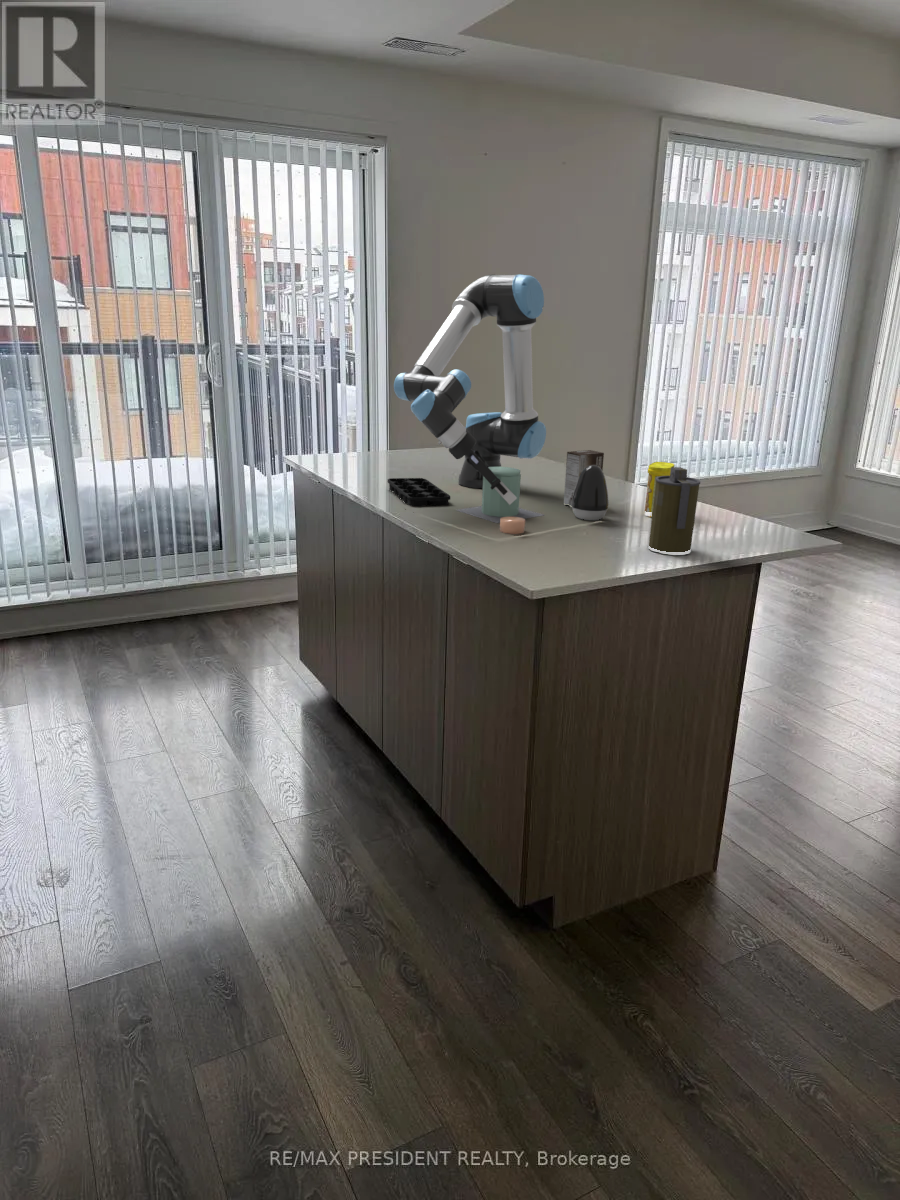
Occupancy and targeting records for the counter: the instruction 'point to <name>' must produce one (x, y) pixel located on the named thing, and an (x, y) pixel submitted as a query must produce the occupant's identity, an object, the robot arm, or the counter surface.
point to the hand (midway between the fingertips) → (509, 496)
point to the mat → (478, 513)
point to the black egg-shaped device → (590, 494)
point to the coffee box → (579, 469)
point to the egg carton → (418, 491)
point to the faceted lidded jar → (494, 501)
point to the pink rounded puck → (512, 525)
